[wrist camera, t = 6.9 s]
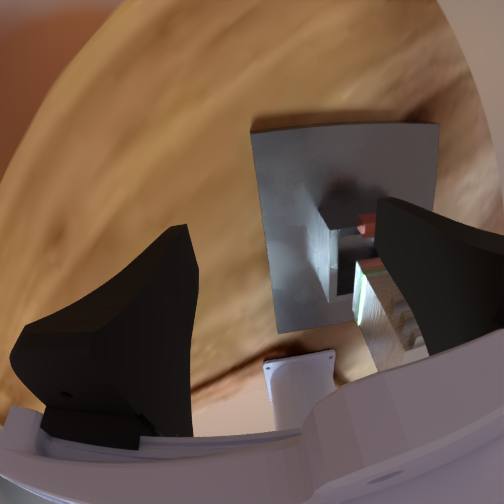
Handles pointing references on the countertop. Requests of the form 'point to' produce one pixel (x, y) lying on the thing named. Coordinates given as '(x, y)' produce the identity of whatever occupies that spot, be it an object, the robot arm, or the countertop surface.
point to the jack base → (333, 206)
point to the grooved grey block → (385, 317)
